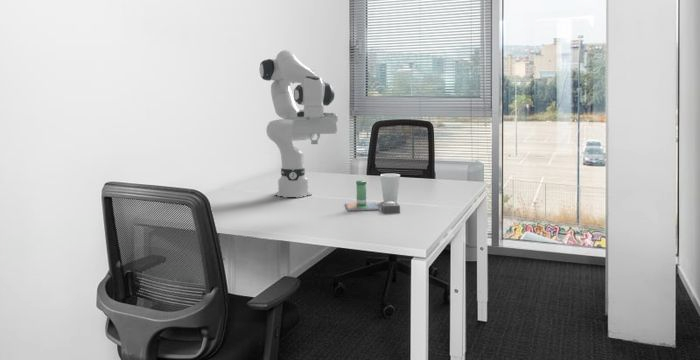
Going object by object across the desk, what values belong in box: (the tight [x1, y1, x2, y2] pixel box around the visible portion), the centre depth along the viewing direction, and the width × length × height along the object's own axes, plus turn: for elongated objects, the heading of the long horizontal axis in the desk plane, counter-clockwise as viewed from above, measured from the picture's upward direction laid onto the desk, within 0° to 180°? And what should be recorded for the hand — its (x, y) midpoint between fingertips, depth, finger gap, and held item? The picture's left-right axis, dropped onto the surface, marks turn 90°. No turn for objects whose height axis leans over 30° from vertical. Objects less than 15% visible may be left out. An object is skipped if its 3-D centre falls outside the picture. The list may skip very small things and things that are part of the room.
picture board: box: [344, 202, 381, 212], centre depth 247 cm, size 15×14×1 cm
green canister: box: [355, 180, 367, 206], centre depth 247 cm, size 5×5×11 cm
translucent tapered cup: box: [379, 173, 401, 203], centre depth 258 cm, size 10×9×13 cm
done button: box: [384, 201, 397, 206], centre depth 238 cm, size 4×4×3 cm
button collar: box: [380, 202, 401, 214], centre depth 238 cm, size 7×7×3 cm
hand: (314, 144), depth 242 cm, fingers closed
